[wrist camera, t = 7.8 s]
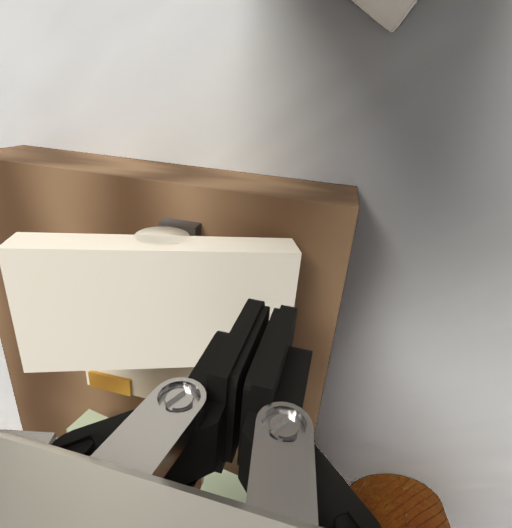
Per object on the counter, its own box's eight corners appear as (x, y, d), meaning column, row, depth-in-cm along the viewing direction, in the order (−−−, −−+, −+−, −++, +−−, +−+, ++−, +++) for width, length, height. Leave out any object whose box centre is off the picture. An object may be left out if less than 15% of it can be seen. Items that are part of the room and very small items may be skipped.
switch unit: (356, 186, 18) (359, 213, 13) (301, 474, 26) (292, 547, 22) (23, 145, 21) (-60, 156, 16) (69, 414, 29) (21, 468, 25)
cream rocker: (286, 229, 16) (301, 252, 14) (274, 329, 18) (286, 364, 16) (27, 222, 14) (-5, 248, 12) (47, 333, 16) (24, 372, 14)
